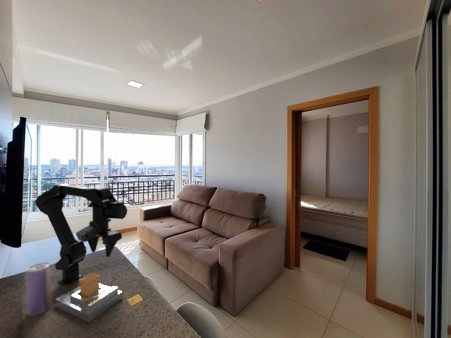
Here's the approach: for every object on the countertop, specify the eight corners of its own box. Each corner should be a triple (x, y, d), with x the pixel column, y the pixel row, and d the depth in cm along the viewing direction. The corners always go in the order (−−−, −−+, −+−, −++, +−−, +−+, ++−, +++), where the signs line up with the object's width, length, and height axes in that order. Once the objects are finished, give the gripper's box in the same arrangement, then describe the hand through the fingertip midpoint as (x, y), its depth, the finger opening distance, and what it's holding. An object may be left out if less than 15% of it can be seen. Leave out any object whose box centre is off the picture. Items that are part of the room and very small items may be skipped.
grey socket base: (55, 306, 67) (55, 293, 67) (90, 286, 79) (90, 275, 78) (88, 322, 61) (88, 308, 61) (122, 298, 72) (122, 286, 72)
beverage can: (36, 318, 62) (35, 272, 62) (22, 315, 63) (21, 270, 63) (55, 304, 68) (55, 263, 68) (42, 302, 69) (41, 261, 69)
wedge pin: (79, 304, 68) (78, 279, 68) (92, 296, 73) (92, 272, 73) (87, 308, 67) (87, 282, 67) (100, 299, 71) (100, 275, 71)
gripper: (65, 219, 77) (65, 258, 78) (95, 226, 70) (95, 268, 70) (93, 213, 87) (93, 247, 88) (122, 218, 80) (122, 255, 80)
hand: (100, 254), depth 81 cm, fingers open, 9 cm apart
